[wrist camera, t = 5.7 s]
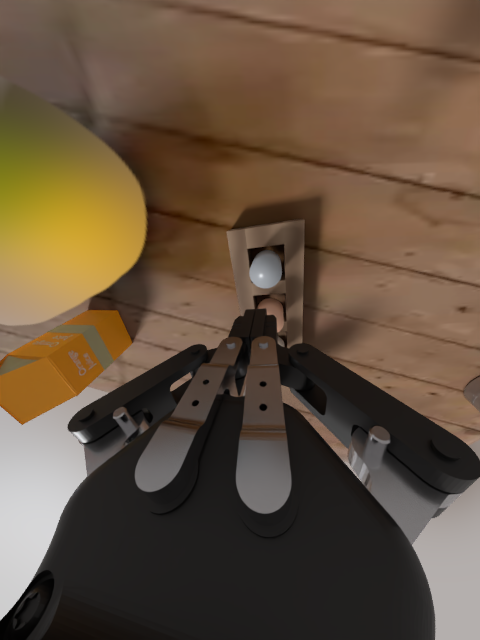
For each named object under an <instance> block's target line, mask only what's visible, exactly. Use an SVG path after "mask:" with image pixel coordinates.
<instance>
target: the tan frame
mask: <svg viewBox="0 0 480 640" xmlns="http://www.w3.org/2000/svg"><path fill="white" fill-rule="evenodd" d="M304 228H305V220H304V219H295V220H289V221H282V222H276V223H269V224H263V225H256V226H250V227H243V228H237V229H231V230H229V231H227V238H228V244H229V250H230V256H231V262H232V268H233V273H234V279H235V285H236V291H237V297H238V303H239V309H240V315H241V316H244V313H245V310H246V309H257V303H256V295H268V294H281V293H285V300H286V313H283V317H284V325H283V328H282V329H281V330H280V331H279V332H287V344H284V346H285V348H290V347H291V346H292V345H294V344H298V343H302V328H303V278H304ZM281 244H284V267H285V274H282V276H281V279H280V281H279V282H278V283H277V284H276V285H275V286H273V287H271V288H260V287H258V286H256V285H255V284H254V283H253V282H252V281H251V279H250V274H249V272H250V267H251V265H252V260H251V251H250V248H257V247H265V246H273V245H281Z"/></svg>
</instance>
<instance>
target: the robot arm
mask: <svg viewBox="0 0 480 640" xmlns="http://www.w3.org/2000/svg"><path fill="white" fill-rule="evenodd" d="M189 372H190V373H191V376H192V378H191V379H190V380H188V381H187V382H185V383H184V384H182V385H181V386H179V387H178V388H177V389H175V390H173V391H171V392H170V387H171V385H172V384H173V383H174V382H175V381H177V380H179V379H180V378H182V377H183V376H185V375H186V374H188V373H189ZM281 385H284V386H287V387H290V391H291V392H292V393H293V394H294V395H295V396H296V397H297V398H298V399H299V400H300V401H301V402H302V403H303V404H304V405H305V406H306V407H307V408H308V409H309V410H310V411H311V412H312V413H313V414H314V415H315V416H316V417H317V418H318V419H319V420H320V421H321V422H322V423H323V424H324V425H325V426H326V427H327V428H328V429H329V430H330V431H331V432H332V433H333V434H334V435H335V436H336V437H337V438H338V439H339V440H340V441H341V442H342V443H343V444H344V445H345V446H346V447H347V448H348V449H349V450H348V460H349V463H350V465H351V467H352V469H353V470H354V472H355V473H356V474H357V476H358V477H359V478H360V480H361V481H360V480H359V479H358V478H357V477H356V476H355V475H354V474H353V472H352V471H351V470H350V469H349V468H348V467H347V465H346V464H345V463H344V462H343V461H342V460H341V459H340V457H339V456H338V455H337V454H336V453H335V452H334V451H333V449H332V448H331V447H330V446H329V445H328V444H327V443H326V441H325V440H324V439H323V438H322V437H321V436H320V435H319V433H318V432H317V431H316V430H315V429H314V428H313V427H312V425H311V424H310V423H309V422H308V421H307V420H306V419H305V418H304V416H303V415H302V414H301V413H299V412H298V411H297V410H296V409H294V408H293V407H291V406H289V405H288V404H285V403H283V401H282V392H281ZM245 387H246V390H245ZM244 390H245V396H243V394H244ZM464 396H465V398H466V399H467V400H468V401H469V402H470V403H471V404H472V405H473V406H474V407H475V408H476V409H477V410H478V411H479V412H480V377H478V378H476V379H474V380H473V381H471V382H470V383H469V384H468V385H467V386H466V387H465V390H464ZM68 430H69V431H70V432H71V433H72V434H73V435H74V436H75V437H76V438H77V439H78V440H79V442H80V444H82V445H83V446H84V451H85V459H86V469H87V478H86V479H85V480H84V481H83V482H82V483H81V484H80V485H79V487H78V488H77V489H76V490H75V492H74V493H73V495H72V496H71V498H70V499H69V501H68V503H67V505H66V506H65V508H64V510H63V513H62V515H61V517H60V520H59V523H58V525H57V528H56V531H55V534H54V536H53V539H52V541H51V544H50V546H49V548H48V550H47V553H46V555H45V557H44V559H43V561H42V563H41V565H40V567H39V568H38V571H37V572H36V574H35V576H34V578H33V580H32V582H31V583H30V584H29V586H28V587H27V589H26V590H25V592H24V593H23V594H22V596H21V597H20V599H19V600H18V601H17V602H16V604H15V605H14V606H13V608H12V609H11V610H10V611H9V612H8V613H7V614H6V615H5V616H4V617H3V619H2V620H1V621H0V640H435V614H434V606H433V600H432V596H431V592H430V588H429V584H428V581H427V578H426V575H425V573H424V570H423V568H422V565H421V563H420V561H419V559H418V556H417V554H416V552H415V551H414V549H413V547H412V544H413V542H414V541H415V540H416V539H417V537H418V536H419V534H420V533H421V532H422V530H423V529H424V528H425V526H426V525H427V523H428V522H429V521H430V519H431V518H435V517H437V516H439V515H440V514H441V513H442V512H443V511H444V510H445V509H446V508H447V507H448V506H449V505H450V504H451V503H453V501H455V500H456V499H457V498H458V497H459V496H460V495H461V494H462V493H463V492H464V491H465V490H466V489H467V488H468V487H469V486H470V485H472V484H473V483H474V482H475V481H476V480H477V479H478V478H479V477H480V460H479V458H478V456H477V455H476V454H475V452H474V451H473V450H472V449H471V448H470V447H469V446H468V445H467V444H466V443H464V442H463V441H462V440H461V439H459V438H458V437H456V436H455V435H453V434H451V433H450V432H448V431H447V430H445V429H443V428H442V427H440V426H439V425H437V424H435V423H434V422H432V421H431V420H429V419H428V418H426V417H424V416H423V415H421V414H420V413H418V412H416V411H415V410H413V409H412V408H410V407H408V406H407V405H405V404H404V403H402V402H400V401H399V400H397V399H396V398H394V397H392V396H391V395H389V394H388V393H386V392H385V391H383V390H381V389H380V388H378V387H377V386H375V385H373V384H372V383H370V382H369V381H367V380H365V379H364V378H362V377H361V376H359V375H357V374H356V373H354V372H353V371H351V370H349V369H348V368H346V367H345V366H343V365H341V364H340V363H338V362H337V361H335V360H334V359H332V358H330V357H329V356H327V355H326V354H324V353H322V352H321V351H319V350H318V349H316V348H314V347H313V346H311V345H309V344H305V343H298V344H294V345H292V346H291V347H290V348H285V347H282V346H281V345H279V344H278V333H277V318H276V317H275V316H274V315H267V310H266V308H263V309H246V310H245V313H244V316H239V317H238V318H237V319H235V321H234V323H233V326H232V329H231V331H230V334H229V337H228V338H226V339H224V340H223V341H222V342H221V343H220V345H219V346H218V348H215V349H211V350H207V348H206V346H205V345H202V344H197V345H193V346H191V347H189V348H187V349H185V350H184V351H182V352H180V353H178V354H177V355H175V356H173V357H171V358H170V359H168V360H166V361H164V362H163V363H161V364H159V365H157V366H156V367H154V368H152V369H150V370H149V371H147V372H145V373H143V374H142V375H140V376H138V377H136V378H135V379H133V380H131V381H129V382H128V383H126V384H124V385H122V386H121V387H119V388H117V389H115V390H114V391H112V392H110V393H108V394H107V395H105V396H103V397H102V398H100V399H98V400H96V401H94V402H93V403H91V404H89V405H87V406H86V407H84V408H82V409H81V410H80V411H78V412H77V413H76V414H75V415H74V416H73V417H72V419H71V420H70V422H69V424H68Z"/></svg>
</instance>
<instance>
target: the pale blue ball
mask: <svg viewBox="0 0 480 640" xmlns="http://www.w3.org/2000/svg"><path fill="white" fill-rule="evenodd" d="M249 274H250V279H251V281H252V282H253V283H254V284H255V285H256V286H258V287H260V288H271V287H273V286H275V285H276V284H277V283H278V282H279V281H280V279H281V276H282V267H281V259H280V257H279V256H278V254H277V253H275V252H274V251H271V250H264V251H261V252H259V253H258V254H257V255H256V256H255V258H254V260H253V262H252V265H251V267H250V272H249Z"/></svg>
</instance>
